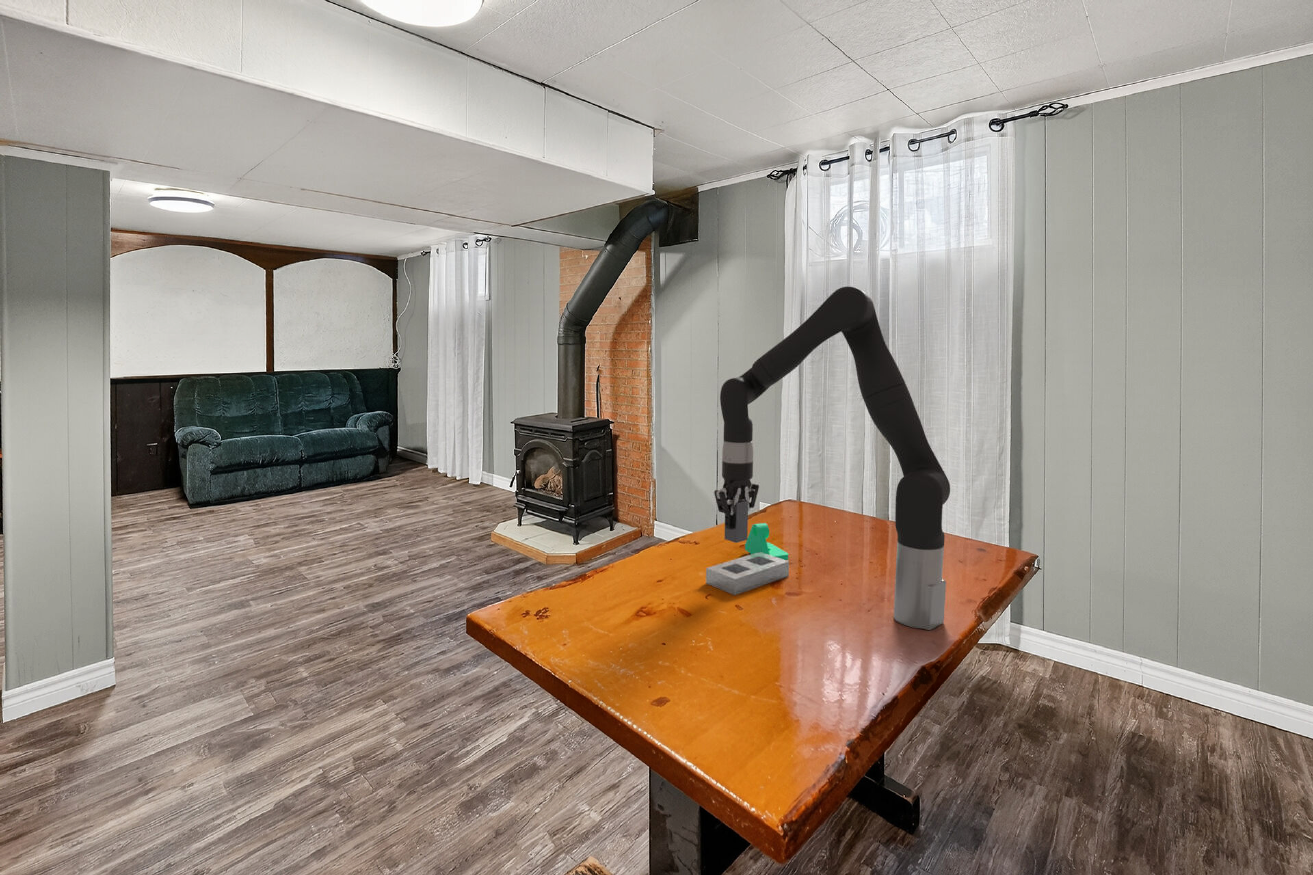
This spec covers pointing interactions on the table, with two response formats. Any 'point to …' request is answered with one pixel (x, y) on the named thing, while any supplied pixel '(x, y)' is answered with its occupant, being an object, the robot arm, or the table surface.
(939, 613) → the robot arm
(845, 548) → the table surface
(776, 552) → the camera mount
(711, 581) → the rail
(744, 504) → the peg
